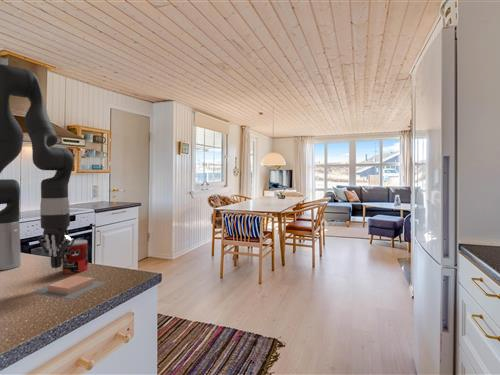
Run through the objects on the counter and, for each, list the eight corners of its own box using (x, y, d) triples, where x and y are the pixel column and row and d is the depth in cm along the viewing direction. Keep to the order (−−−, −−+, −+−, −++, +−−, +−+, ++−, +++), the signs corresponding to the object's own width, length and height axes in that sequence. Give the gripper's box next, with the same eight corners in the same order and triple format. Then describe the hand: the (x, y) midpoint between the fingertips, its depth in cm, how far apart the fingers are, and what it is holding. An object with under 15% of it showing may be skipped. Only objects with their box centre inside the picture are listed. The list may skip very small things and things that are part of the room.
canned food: (57, 274, 104) (56, 243, 104) (77, 267, 112) (76, 238, 111) (73, 276, 102) (73, 245, 101) (92, 269, 109) (92, 240, 109)
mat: (31, 294, 87) (31, 292, 87) (70, 279, 99) (70, 277, 99) (70, 300, 82) (70, 298, 82) (106, 284, 95) (106, 282, 95)
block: (47, 285, 87) (68, 288, 85) (74, 275, 96) (93, 278, 93) (47, 291, 87) (68, 294, 85) (74, 280, 96) (93, 283, 94)
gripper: (27, 212, 90) (28, 268, 91) (60, 214, 86) (61, 273, 87) (50, 209, 97) (51, 261, 98) (82, 211, 93) (83, 266, 94)
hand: (56, 267), depth 92 cm, fingers closed
